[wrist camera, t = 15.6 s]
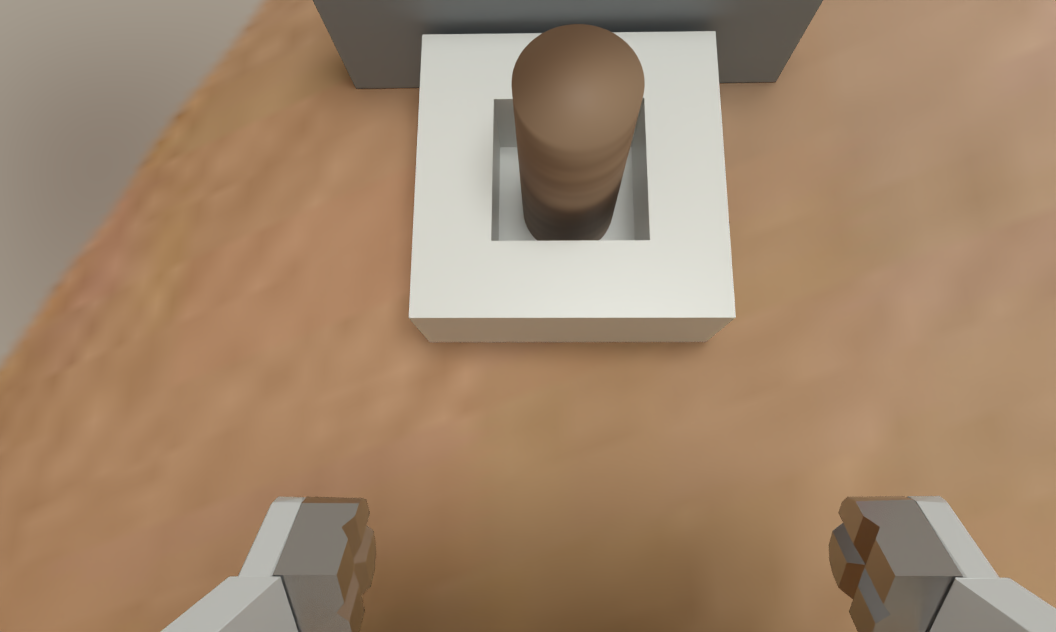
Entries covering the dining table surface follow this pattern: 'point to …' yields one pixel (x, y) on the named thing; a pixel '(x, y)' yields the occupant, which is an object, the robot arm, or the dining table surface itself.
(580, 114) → the walnut dowel
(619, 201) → the white socket block
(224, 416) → the dining table surface
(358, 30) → the slate backstop wall
